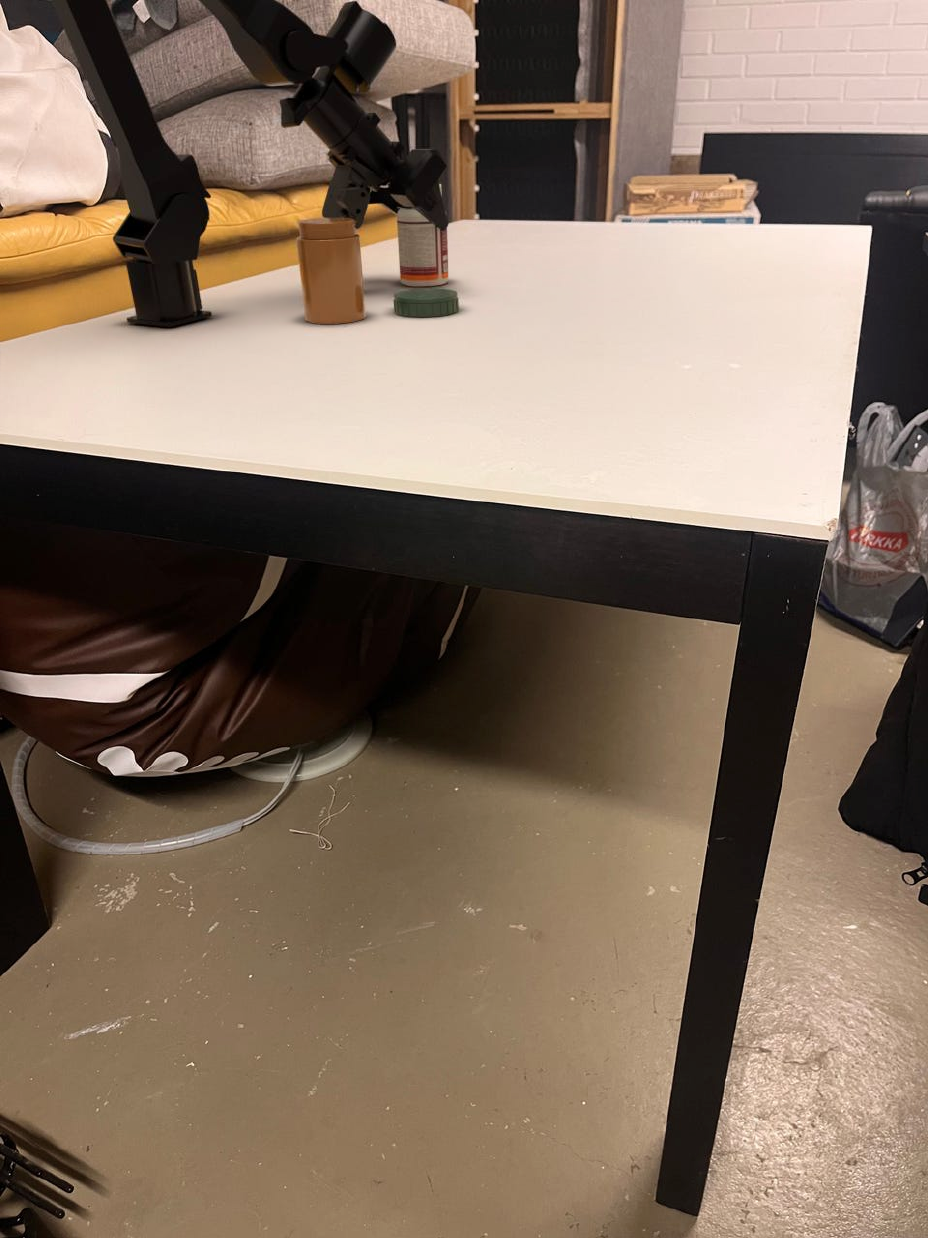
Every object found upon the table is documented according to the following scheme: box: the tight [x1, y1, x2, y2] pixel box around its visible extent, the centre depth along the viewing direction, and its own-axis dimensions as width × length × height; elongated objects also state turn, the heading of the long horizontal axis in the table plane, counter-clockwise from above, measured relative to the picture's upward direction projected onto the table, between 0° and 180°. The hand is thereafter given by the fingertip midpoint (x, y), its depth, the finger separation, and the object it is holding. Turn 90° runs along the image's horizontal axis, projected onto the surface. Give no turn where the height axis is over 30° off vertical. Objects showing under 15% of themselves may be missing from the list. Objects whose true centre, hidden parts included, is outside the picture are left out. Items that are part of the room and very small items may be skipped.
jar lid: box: [393, 287, 460, 318], centre depth 95 cm, size 7×7×2 cm
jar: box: [295, 217, 367, 325], centre depth 90 cm, size 6×6×10 cm
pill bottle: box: [396, 183, 449, 288], centre depth 109 cm, size 6×6×11 cm
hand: (431, 226), depth 109 cm, fingers closed on pill bottle, 6 cm apart
